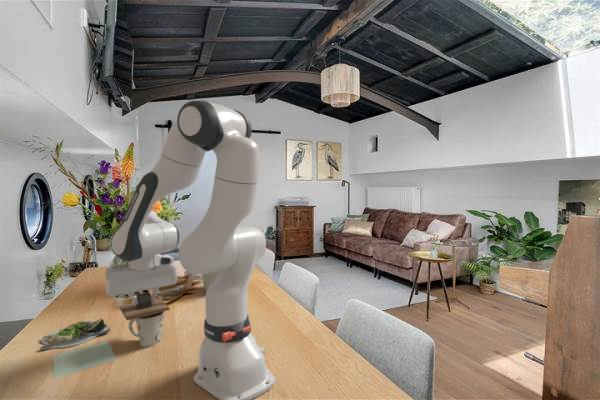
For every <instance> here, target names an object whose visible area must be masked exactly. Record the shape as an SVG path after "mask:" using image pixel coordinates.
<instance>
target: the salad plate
mask: <svg viewBox="0 0 600 400" xmlns="http://www.w3.org/2000/svg"><path fill="white" fill-rule="evenodd" d="M109 332H111V329H110V327H109V325H108V324H105V321H104V319H103V318H99V319H97V320H95V321H94V320H85V321H79V322H74V323H72V324H70V325H67V326H66V327H63V328H61V329H58V330H55V331H53V332H50V333H47V334H45V335H44V336H42V338H41V340H40V343H42V345H43V346H41V347H40V348H39V349H40V350H41V351H42V350H44V351H45V350H51V349H52V350H53V349H64V348H65V349H66V348H71V347H77V346H79V345H82V344H85V343H86V342H89V341H91V340H93V339H96V338H98V337H101V336H104V335H105V334H107V333H109ZM51 339H52V340H53V339H56V340H55V342H51V341H50V340H51Z"/></svg>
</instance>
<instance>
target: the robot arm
mask: <svg viewBox="0 0 600 400" xmlns="http://www.w3.org/2000/svg"><path fill="white" fill-rule="evenodd" d="M177 113H178V114H177V119H176V121H174V122H173V123H172V125H171V127H170V129H169V131H168V133H167V136H166V138H165V140H164V143H163V145H162V150H161V152H160V156H159V158H158V160H157V162H156V163H155V165H154V166H153V167H152V169H151V170H150V171H149V172H148V173H145V174H144V175H142V178H141V179H140V181H139V182H138V184H137V187H136V188H135V190H134V192H133V195H132V197H131V200H130V202H129V204H128V207H127V209H126V211H125V214H124V216H123V218H122V219H121V222H120V224H119V225H118V226H117V228H116V230H115V231H114V233H113V234H112V238H111V243H110V245H111V251H112V253H113V254H114V255H115V256H116V257H118V258H119V259H120V260H122V261H124V263H120V264H119V263H118V264H112V265H110V266H109V267H107V268H106V269H105V271H104V275H105V276H104V277H105V279H106V281H107V282H106V288H105V289H106V294H107V295H108V296H109V297H110V298H112V297H117V296H123V295H126V294H127V295H128V297H129V298H130V299H131V303H132V304H133V306H137V305H139V303H138V302H139V300H138V299H137V298H135V297H134V296H135V295H136V294H135V293H137V292H143V291H148V290H152V291H153V292H152V294H151V302H155V298H156V296H157V295H158V293H159V291H160V288H162V287H167V286H172V285H173V286H174V285H175V284H177V282H178V271H177V267H176V265H174V262H175V260H174V259H175V258H174V257H173V256H171V255H168V254H166V253H169V252H172V251H174V250H175V249H176V248H177V247H178V245H179V242H180V231H179V229H178V227H177V226H176V225H175V224H174V223H173V222H171V221H167V220H165V219H163V218H161V217H159V216H158V215H157V213H156V211H155V210H153V207H154V206H155V204H156V203H158V202H159V201H160V200H162V199H163V198H165V197H166V196H169V195H171V194H173V193H177V192H180V191H183V190H185V189H187V188H189V187H190V186H193V184H194V183H195V182H196V181H197V178H198V177H199V175H200V172H201V168H202V165H203V162H204V159H205V158H204V157H205V155H206V152H211V151H213V153H214V154H215V157H216V168H215V171H214V177H213V178H214V180H213V185H212V186H213V187H212V191H211V192H212V193H211V197H210V201H209V205H208V208H207V210H206V213H205V214H204V216H203V217H202V218H201V219H202V220H201V221H200V222H199V224H198V225H197V226H196V228H194V230H193V231H191V232H190V233H189V234H188V235H187V236H185V237H184V238H183V239H182V240H181V243H180V245H179V248H178V258H179V263H180V266H181V267H182V268H183V269H184V270H185V271H186V272H187V273H189V274H193V275H195V274H197V275H200V274H201V275H202V274H206V273H212V272H216V271H220V273H219V275H218V277H217V279H216V280H215V281H214V282H213V283H212V284H211V285H210V286H209V288H208V289H207V291H206V292H205V318H204V322H203V323H204V324H203V330H204V333H203V334H204V338H203V340H202V342H201V344H200V346H199V353H198V354H199V355H198V369H197V372H196V373H195V374H194V375H193V382H194V383H195V384H196V385H198V386H199V387H201V388H202V389H203V390H205V391H206V392H208V393H209V394H211V395H212V396H213V397H215V398H216V399H218V400H252V399H254V398H257V397H259V396H261V395H262V394H264V393H265V392H267V391H268V390H270V389H271V388H272V387H273V386H274V384H275V383H276V377H275V376H274V374H273V372H272V371H271V369H269V367H268V366H267V365H266V361H265V355H266V350H265V348H264V346H260V347H259V345H258V343H257V338H256V337H254V336H253V334H252V327H253V326H252V325H251V320H250V317H249V315H248V290H249V284H250V280H251V278H252V275H253V272H254V270H255V267H256V265H257V263H258V262H259V261H260V259H261V258H262V257H263V255H264V254H265V252H266V249H267V241H266V236H265V234H264V233H263V232H262V230H261V229H259V228H258V227H255V226H248V225H247V226H245V225H240V224H241V223H242V222H243V221H244V220H245V219H246V218H247V217H249V215H250V214H251V213H252V211H253V210H254V205H255V200H256V194H257V192H256V191H257V187H258V181H259V175H260V174H259V173H260V148H259V145H258V143H256V141H255V140H253V139H251V136H252V129H253V128H252V124H251V121H250V120H249V119H248V117H247V116H246V115H245V114H244V113H243V112H241V111H238V110H235V109H232V108H229V107H227V106H225V105H223V104H219V103H215V102H208V101H205V100H198V99H197V100H191V101H187V102H186V103H184V104H183V105H182V106H181V107H180V109H179V110H178V112H177Z"/></svg>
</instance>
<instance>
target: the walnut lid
mask: <svg viewBox="0 0 600 400" xmlns="http://www.w3.org/2000/svg"><path fill="white" fill-rule="evenodd" d="M151 295H152V294H151V293H150V292H149V291H146V292H141V293H137V294H136V299H138V300H139V302H138V303H139V305H137V306H133V304H132V302H130V303H127V304H126V303H125V304H121V305H119V306H118V309H119V310H120V312H121V313H122V315H123V316H124V318H125V320H126V321H130V320H131V319H135V318H139V317H143V316H147V315H151V314H155V313H159V312H163V311H164V312H167V311H170V306H168V305H167V303H166V302H164V301H163V300H162V299H161V298H160V297H159V296H158V297H155V302H151Z"/></svg>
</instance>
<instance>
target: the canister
mask: <svg viewBox="0 0 600 400" xmlns="http://www.w3.org/2000/svg"><path fill="white" fill-rule="evenodd" d="M219 273H220V271H216V272H212V273H206V274H201V278H202V279H201V280H202V285H203V288H204V290H205V291H206V292H207V289H208V288H209V286H210V285H211V284H212V283H213V282H214V281H215V280H216V279H217V277H218V275H219Z"/></svg>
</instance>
